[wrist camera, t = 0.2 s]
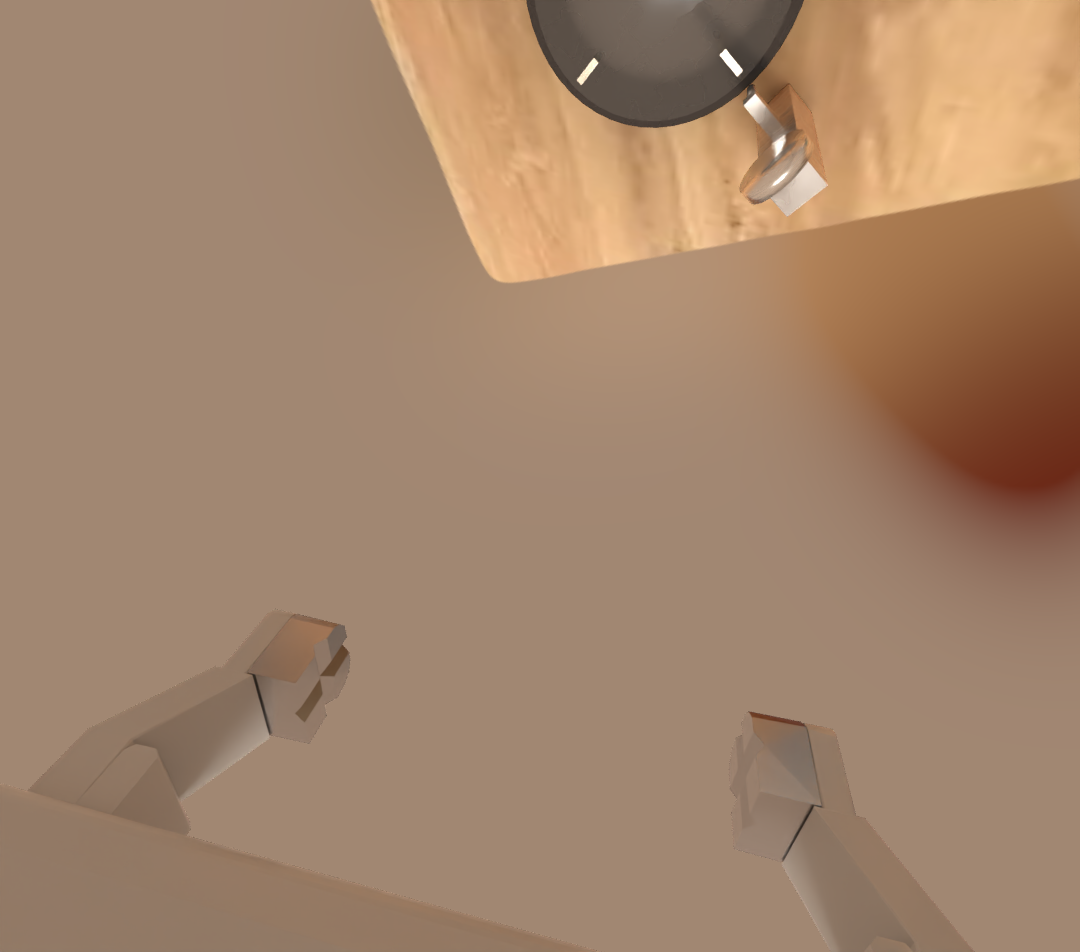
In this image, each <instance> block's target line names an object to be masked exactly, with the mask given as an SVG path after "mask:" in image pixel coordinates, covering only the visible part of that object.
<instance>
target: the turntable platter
mask: <svg viewBox="0 0 1080 952" xmlns="http://www.w3.org/2000/svg"><path fill="white" fill-rule="evenodd" d="M791 1H792V0H535V6H536V11H537V15H538V19H539V23H540V27H541V30H542V33H543V35H544V38H545V41H546V43H547V46H548V48H549V50H550V52H551V54H552V56H553V58H554V60H555V62H556V63H557V65H558V66H559V68H560V69H561V71H562V72H563V74H564V75H565V77H566V78H567V79H568V80H569V81H570V82H571V84H572V85H573V86H574V87H575V88H576V89H577V90H578V91H579V92H580V93H581V94H582V95H584V96H585V97H586V98H587V99H588V100H590V101H591V102H593V103H594V104H596V105H597V106H599V107H600V108H602V109H604V110H606V111H608V112H610V113H612V114H615V115H618V116H621V117H624V118H628V119H634V120H640V121H662V120H671V119H675V118H679V117H683V116H687V115H689V114H692V113H694V112H697V111H699V110H701V109H703V108H705V107H707V106H709V105H711V104H712V103H714V102H716V101H717V100H719V99H720V98H722V97H723V96H724V95H726V94H727V93H729V92H730V91H731V90H732V89H733V88H734V87H736V86H737V85H738V84H739V83H740V82H741V81H742V80H743V79H744V78H745V77H746V76H747V75H748V74H749V73H750V72H751V70H752V69H753V68H754V67H755V66H756V65H757V64H758V62H759V61H760V60H761V58H762V57H763V55H764V54H765V53H766V51H767V50H768V48H769V47H770V45H771V43H772V42H773V40H774V38H775V36H776V35H777V33H778V31H779V29H780V27H781V25H782V23H783V21H784V18H785V16H786V14H787V12H788V9H789V7H790V4H791Z"/></svg>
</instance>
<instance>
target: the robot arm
mask: <svg viewBox="0 0 1080 952" xmlns="http://www.w3.org/2000/svg"><path fill="white" fill-rule="evenodd" d="M346 638H347V635H346V630H345V626H343V625H340V624H337V623H332V622H328V621H324V620H320V619H316V618H312V617H307V616H304V615H300V614H295V613H291V612H286V611H282V610H278V609H275V610H273V611H271V612H269V613H268V614H267V615H266V616H265V617H264V618H263V619H262V621H261V622H260V623H259V624H258V625H257V627H256V628H255V629H254V630H253V631H252V632H251V634H250V635H249V636H248V637H247V638H246V639H245V641H244V642H243V643H242V644H241V646H239V648H238V649H237V650H236V651H235V652H234V654H233V655H232V656H231V657H230V658H229V659H228V661H227V662H226V663H225V664H224V665H223V667H222V668H221V667H216V666H215V667H213V668H211V669H208V670H207V671H205V672H202V673H200V674H199V675H196V676H194V677H192V678H190V679H188V680H186V681H184V682H182V683H180V684H178V685H176V686H174V687H172V688H170V689H168V690H166V691H164V692H162V693H160V694H158V695H156V696H154V697H152V698H150V699H148V700H146V701H144V702H141V703H139V704H138V705H135V706H133V707H131V708H129V709H127V710H125V711H123V712H121V713H119V714H117V715H115V716H113V717H111V718H109V719H107V720H105V721H103V722H101V723H99V724H97V725H95V726H93V727H91V728H89V729H88V730H87V731H85V733H83V735H82V736H81V737H80V738H79V739H78V740H77V741H76V742H75V743H74V744H73V745H72V746H71V747H70V748H69V749H68V750H67V751H66V752H65V753H64V754H63V755H62V756H61V757H60V758H59V759H58V760H57V761H56V762H55V763H54V764H53V765H52V766H51V767H50V768H49V769H48V770H47V771H46V772H45V773H44V774H43V775H42V776H41V777H40V778H39V779H38V780H37V781H36V782H35V783H34V785H32V787H30V789H29V790H28V791H26V790H23V789H19V788H16V787H12V786H8V785H5V784H1V783H0V952H600V951H597V950H593V949H589V948H586V947H582V946H579V945H575V944H572V943H568V942H564V941H561V940H557V939H554V938H550V937H547V936H543V935H540V934H536V933H532V932H529V931H525V930H522V929H518V928H514V927H511V926H508V925H504V924H501V923H497V922H493V921H490V920H486V919H483V918H479V917H475V916H472V915H468V914H465V913H461V912H458V911H454V910H451V909H447V908H443V907H440V906H436V905H433V904H429V903H426V902H422V901H418V900H415V899H412V898H408V897H404V896H400V895H397V894H393V893H390V892H387V891H383V890H379V889H376V888H372V887H369V886H365V885H362V884H358V883H355V882H351V881H347V880H344V879H340V878H337V877H333V876H330V875H326V874H322V873H318V872H315V871H312V870H308V869H304V868H301V867H297V866H294V865H290V864H287V863H283V862H279V861H276V860H272V859H269V858H265V857H261V856H258V855H255V854H251V853H247V852H244V851H240V850H237V849H233V848H229V847H226V846H222V845H219V844H215V843H212V842H208V841H204V840H201V839H197V838H194V837H190V836H187V834H188V833H189V831H190V830H191V828H190V821H189V819H188V817H187V814H186V812H185V810H184V808H183V806H182V804H181V801H183V800H184V799H185V798H187V797H188V796H190V795H191V794H192V793H194V792H195V791H197V790H198V789H200V788H201V787H202V786H204V785H205V784H206V783H208V782H209V781H211V780H212V779H213V778H215V777H216V776H217V775H219V774H220V773H222V772H223V771H224V770H226V769H227V768H229V767H230V766H231V765H233V764H234V763H236V762H237V761H238V760H240V759H241V758H242V757H244V756H245V755H247V754H248V753H249V752H251V751H252V750H254V749H255V748H256V747H258V746H259V745H261V744H262V743H263V742H265V741H266V740H268V739H269V738H270V735H271V736H276V737H281V738H286V739H290V740H295V741H299V742H304V743H308V744H309V743H310V742H311V740H312V738H313V737H314V735H315V734H316V732H317V730H318V729H319V727H320V725H321V724H322V722H323V720H324V719H325V717H326V709H325V704H327V703H329V702H330V701H332V700H334V699H335V698H337V697H338V696H339V694H340V692H341V690H342V688H343V687H344V685H345V682H346V679H347V675H348V673H349V668H350V655H349V652H348V650H347V649H346V648H345V647H344V646H343V645H342V644H343V642H344V640H345V639H346ZM729 781H730V790H731V791H732V793H733V794H734V796H735V797H736V799H737V800H736V802H735V805H734V807H733V810H732V812H731V814H732V829H733V844H734V849H736V850H740V851H743V852H747V853H751V854H754V855H758V856H761V857H765V858H769V859H772V860H776V861H780V862H783V863H782V866H783V868H784V870H785V871H786V873H787V875H788V877H789V879H790V880H791V882H792V884H793V886H794V887H795V889H796V891H797V893H798V894H799V896H800V898H801V900H802V901H803V903H804V905H805V907H806V909H807V910H808V912H809V914H810V916H811V918H812V919H813V921H814V923H815V925H816V926H817V928H818V930H819V932H820V933H821V935H822V937H823V939H824V941H825V942H826V944H827V946H828V947H829V949H830V951H831V952H974V951H973V950H972V949H971V947H970V946H969V945H968V943H967V942H966V941H965V940H964V939H963V937H962V936H961V935H960V934H959V933H958V931H957V930H956V929H955V928H954V926H953V925H952V924H951V923H950V921H949V920H948V919H947V918H946V917H945V915H944V914H943V913H942V912H941V910H940V909H939V908H938V907H937V906H936V904H935V903H934V902H933V901H932V900H931V898H930V897H929V896H928V895H927V893H926V892H925V891H924V890H923V888H922V887H921V886H920V885H919V884H918V883H917V881H916V880H915V879H914V877H913V876H912V875H911V874H910V873H909V871H908V870H907V869H906V868H905V866H904V865H903V864H902V863H901V862H900V860H899V859H898V858H897V857H896V855H895V854H894V853H893V852H892V851H891V850H890V848H889V847H888V846H887V844H886V843H885V842H884V841H883V840H882V838H881V837H880V836H879V835H878V834H877V832H876V831H875V830H874V829H873V827H872V826H871V825H870V824H869V823H868V821H867V820H866V819H865V818H863V817H859V816H856V813H855V809H854V805H853V801H852V797H851V793H850V789H849V785H848V781H847V777H846V773H845V769H844V765H843V760H842V756H841V752H840V748H839V744H838V740H837V736H836V734H835V732H834V731H833V730H832V729H829V728H825V727H821V726H815V725H811V724H807V723H802V722H799V721H794V720H790V719H785V718H780V717H775V716H770V715H764V714H760V713H755V712H750V711H748V712H747V713H746V714H745V716H744V718H743V721H742V735H741V736H739V737H737V738H736V739H735V742H734V745H733V748H732V752H731V758H730V768H729Z"/></svg>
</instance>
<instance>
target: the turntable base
mask: <svg viewBox="0 0 1080 952" xmlns="http://www.w3.org/2000/svg"><path fill="white" fill-rule="evenodd" d="M803 1H804V0H792V1H791V4H790V7H789V9H788V12H787V14H786V16H785V18H784V21H783V23H782V25H781V27H780V29H779V31H778V33H777V35H776V36H775V38H774V40H773V42H772V43H771V45H770V47H769V48H768V50H767V51H766V53H765V54H764V55H763V57H762V58H761V60H760V61H759V62H758V64H757V65H756V66H755V67H754V68H753V69H752V70H751V72H750V73H749V74H748V75H747V76H746V77H745V78H744V79H743V80H742V81H741V82H740V83H739V84H738V85H737V86H736V87H734V88H733V89H732V90H731V91H730V92H729V93H727V94H726V95H724V96H723V97H722V98H720V99H719V100H717V101H716V102H714V103H712V104H711V105H709V106H707V107H705V108H703V109H701V110H699V111H697V112H694V113H692V114H689V115H687V116H683V117H679V118H675V119H671V120H662V121H640V120H634V119H628V118H624V117H621V116H618V115H615V114H612V113H610V112H608V111H606V110H604V109H602V108H600V107H599V106H597V105H596V104H594V103H593V102H591V101H590V100H588V99H587V98H586V97H585V96H584V95H582V94H581V93H580V92H579V91H578V90H577V89H576V88H575V87H574V86H573V85H572V84H571V82H570V81H569V80H568V79H567V78H566V77H565V75H564V74H563V72H562V71H561V69H560V68H559V66H558V65H557V63H556V62H555V60H554V58H553V56H552V54H551V52H550V50H549V48H548V46H547V43H546V41H545V38H544V35H543V33H542V30H541V27H540V23H539V19H538V15H537V11H536V6H535V0H527V7H528V11H529V15H530V18H531V22H532V26H533V29H534V32H535V35H536V37H537V40H538V43H539V45H540V47H541V49H542V51H543V53H544V55H545V57H546V59H547V61H548V63H549V65H550V66H551V68H552V69H553V71H554V72H555V74H556V75H557V77H558V78H559V79H560V81H561V82H562V83H563V84H564V85H565V86H566V88H567V89H568V90H569V91H570V92H571V93H572V94H573V95H574V96H575V97H576V98H578V99H579V100H580V101H581V102H582V103H583V104H585V105H586V106H588V107H589V108H591V109H592V110H593V111H595V112H596V113H598V114H600V115H603V116H605V117H607V118H609V119H611V120H614V121H617V122H620V123H623V124H626V125H632V126H638V127H653V128H658V127H667V126H675V125H679V124H683V123H687V122H690V121H693V120H695V119H698V118H700V117H703V116H705V115H707V114H709V113H711V112H713V111H715V110H717V109H718V108H720V107H722V106H723V105H725V104H726V103H728V102H729V101H730V100H732V99H733V98H735V97H736V96H738V95H739V94H740V93H741V92H742V91H743V90H744V89H745V88H746V87H748V86H749V85H750V84H751V83H752V82H753V81H754V80H755V79H756V78H757V77H758V75H759V74H760V73H761V72H762V71H763V70H764V69H765V68H766V67H767V65H768V64H769V63H770V61H771V60H772V58H773V57H774V56H775V54H776V53H777V52H778V50H779V49H780V47H781V46H782V44H783V42H784V40H785V39H786V37H787V35H788V34H789V32H790V30H791V28H792V26H793V24H794V22H795V20H796V18H797V15H798V13H799V11H800V9H801V7H802V4H803Z"/></svg>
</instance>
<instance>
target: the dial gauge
mask: <svg viewBox="0 0 1080 952" xmlns="http://www.w3.org/2000/svg"><path fill="white" fill-rule="evenodd" d="M743 106H744V107H745V108H746V109H747V111H748V112H749V113H750V114H751V115H752V116H753V118H754V119H755V120H756V126H757V142H758V159H757V160H756V161H755V162H754V163H753V165H752V166H751V167H750V168H749V170H748V171H747V173H746V174H745V176H744V178H743V180H742V182H741V184H740V192H741V193H742V194H743V195H744V197H745V198H746V199H747V200H748V201H749V202H750V203H751V204H759V203H762V202H764V201H766V200H768V199H770V198H771V199H772V200H773V201H774V203H775V204H776V205H777V206H778V207H779V208H780V209H781V210H782V212H783V213H784V214H785V215H786V216H787V217H788V216H789V215H790V214H792V213H793V212H794V211H795V210H797V209H798V208H799V207H801V206H802V205H803V204H804V203H806V202H807V201H808V200H809V199H811V198H812V197H813V196H815V195H816V194H817V193H818V192H820V191H821V190H822V189H824V188H825V187H826V186H827V185H828V184H827V179H826V175H825V170H824V166H823V161H822V157H821V152H820V148H819V143H818V139H817V134H816V130H815V125H814V120H813V116H812V112H811V111H810V110H809V108H808V107H807V106H806V105H805V103H804V102H803V101H802V99H801V98H800V97H799V96H798V94H797V93H796V92H795V91H794V89H793V88H792V87H791V86H790V84H788V85H787V86H786V87H785V88H784V89H783V90H782V91H780V92H779V93H778V94H777V95H776V96H775V97H774V98H773V99H772V100H771V101H770V102H769V103H768V104H767V103H766V102H765V100H764V99H763V98H762V97H761V96H760V94H759V93H758V92H757V91H756V87H755V85H753V84H751V85H749V86H748V88H747V98H746V99H745V100H744V101H743Z"/></svg>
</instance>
